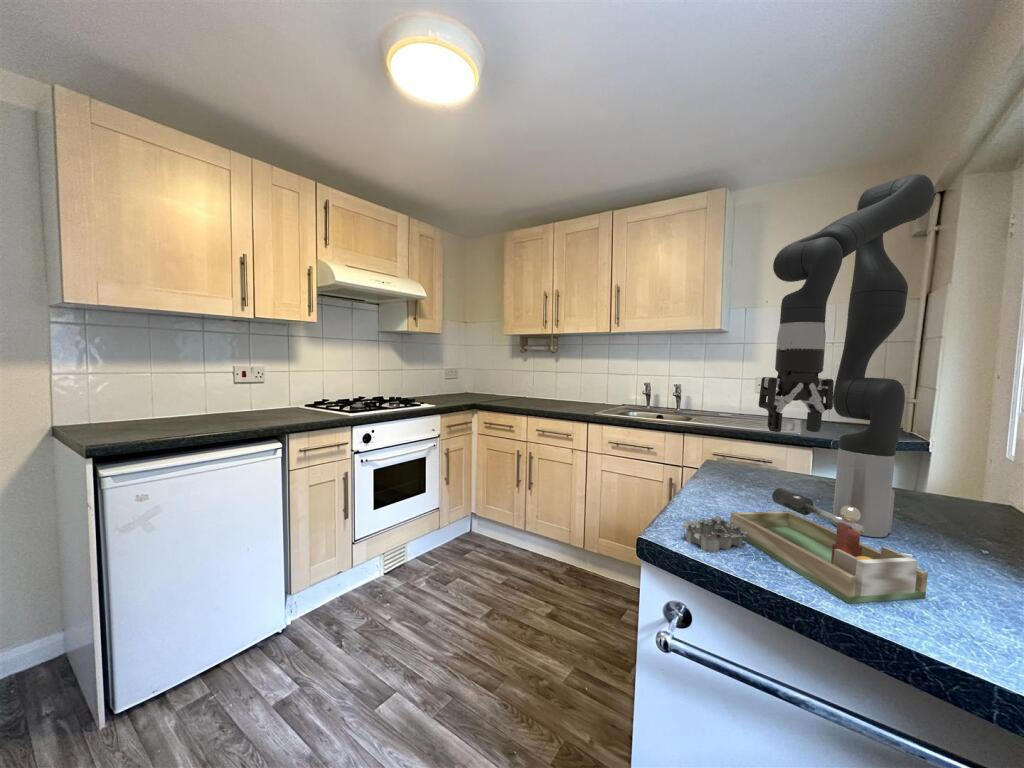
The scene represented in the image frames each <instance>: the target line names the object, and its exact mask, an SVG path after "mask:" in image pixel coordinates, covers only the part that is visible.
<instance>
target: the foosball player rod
mask: <svg viewBox="0 0 1024 768" xmlns="http://www.w3.org/2000/svg"><path fill="white" fill-rule="evenodd" d="M771 496H772V501H773V502H774V503H775V504H777V505H780V506H782V507H784V508H787V509H789V510H791V511H794V513H797V514H799V515H802V516H808V515H810V514H811V513H812V514H814V515H816V516H819V517H821V518H824V519H826V520H828V521H830V522H832V521H833V522H835V523H838V525H837V526H836V527H837V529H836V532H837V536H836V544H833V546H832V557H831V564H833V560H834V549H840V550H842V551H844V552H846V553H848V554H850V555H852V556H854V557H858V556H861V553H862V547H860V546H859V542H860V540H861V535H860V533H863V532H864V530H865V528H864V526H862V525H859V524H857V523H854V522H856V521H858V520H859V519H860V516H861V515H860V512H859V510H858V509H857V508H855V507H853V506H844V507H842V508H841V510H840V515H841V517H839V516H837V515H834V514H833V512H832V513H831V512H828V511H826V510H824V509H821V508H819V507H816V506H814V501H812V499H810V498H809V497H806V496H804V495H800V494H798V493H795V492H793V491H790V490H788V489H784V488H782V487H778V488H776V489H775V490H774V491H773V492H772V495H771Z"/></svg>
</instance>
